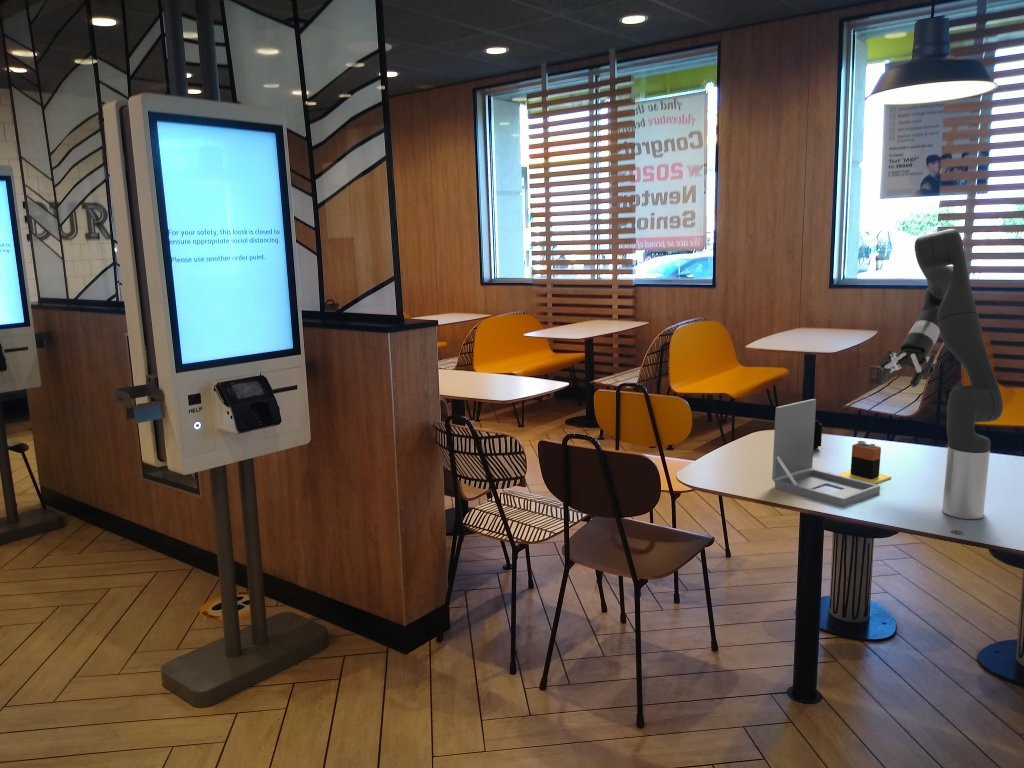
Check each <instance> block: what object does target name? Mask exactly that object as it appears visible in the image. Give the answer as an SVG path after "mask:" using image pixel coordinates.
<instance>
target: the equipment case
mask: <svg viewBox="0 0 1024 768" xmlns="http://www.w3.org/2000/svg"><path fill="white" fill-rule="evenodd" d="M816 409H817V398H811V399H807V400H802V401H801V400H800V401H797V402H793V403H789V404H785V405H780V406H776V407H775V417H774V434H773V436H774V437H773V455H772V474H771V479H772V481H773V483H774V488H775V489H779V490H781V491H785V492H790V493H792V494H796V495H800V496H803V497H806V498H811V499H813V500H817V501H821V502H824V503H826V504H827V503H828V504H831V505H835V506H837V507H841V508H844V507H847V506H850V505H852V504H855V503H857V502H861V501H863V500H866V499H869V498H871V497H873V496H876V495H879V494H881V493H880V492H881V485H879V484H871V483H867V482H863V481H859V480H855V479H851V478H847V477H843V476H839V475H837V474H835V473H830V472H827V471H823V470H819V469H814V467H813V463H814V462H813V460H814V459H813V458H814V448H813V446H814V429H815V420H816ZM824 486H829V487H831V488H832V487H833V488H837V489H838V490H836V491H834V492H831V493H828V492H825V491H821V490H817V489H818V488H819V487H820V488H821V487H824ZM840 488H841V489H840Z"/></svg>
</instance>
